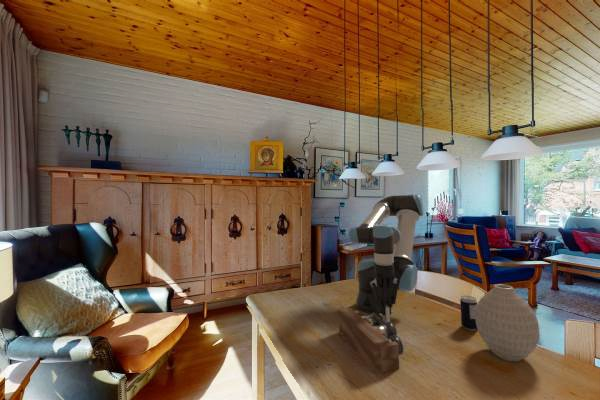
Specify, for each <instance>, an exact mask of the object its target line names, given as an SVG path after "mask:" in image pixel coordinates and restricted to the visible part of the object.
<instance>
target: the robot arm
mask: <svg viewBox="0 0 600 400" xmlns="http://www.w3.org/2000/svg"><path fill="white" fill-rule="evenodd" d="M423 206H424V205H423V201H422V197H421V195H419V194H404V195H403V194H401V195H390V196H386V197H384V198H382V199H380V200H379V201H377V202H376V203H375V204H374V205H373V207H372V211H371V212H370V213H369V214H368V215H367V216H366V218H365V219H364V220H363V221H362V222H361V224H360V225H359V226H353V227H351V228H350V229H349V231H348V239H349V241H350V242H351V243H353V244H361V245H373V258H364V259H362V260H360V261H358V264H357V276H358V278H357V279H358V292H357V295H356V299H355V307H356V309H358V310H359V309H360V311H361V312H365V311H366V312H365V313H371V312H374V313H376V312H378V313H380V315H382V323H383V324H384V323H386V322H391V314H392V308H393V305H396V302H397V301H396V300H397V297H398V296H397V295H398V291H401V292H403V291H404V292H411V291H413V290H414V289H415V288H416V284H417V282H418V281H417V280H418V274H419V273H418V267H417V266H416V265H415V262H414V261H413V260H412V257H413V248H414V242H415V241H414V239H415V231H416V223H417V222H418V221H419V220H420V217H422V216H424V214H425V213H424V207H423ZM389 217H396V218H397V219H398V220H397V224H396V225H397V227H393V226H392V225H391V224H382V223H383V222H384V220H385V219H388V218H389Z"/></svg>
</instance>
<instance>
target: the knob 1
mask: <svg viewBox="0 0 600 400" xmlns="http://www.w3.org/2000/svg"><path fill="white" fill-rule="evenodd" d="M360 316H361V315H360ZM361 317H362V318H367V319H368V320H369V321H370V322H371V326H379V325H383V317H382V316H381V313H380V312H376V313H371V312H370V314H369V315H362V316H361Z"/></svg>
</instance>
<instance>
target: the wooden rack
mask: <svg viewBox="0 0 600 400" xmlns="http://www.w3.org/2000/svg"><path fill="white" fill-rule="evenodd" d="M338 327H339V328H338V329H339V333H340V332H341V333H342V334H341V333H340V334H341V335H342V337H343V336H344V337H345V338H346V339H345V338H344V339H345V340H346V341H347V342H348V343H350V344H351V345H352V346H351V345H350V344H349V345H350V346H351V347H352V348H353V349H354V351H355V352H356V351H357V352H358V353H357V352H356V353H357V354H358V355H359V357H361V358H363V359H364V360H363V361H364V362H365V363H366V364H367V366H368V367H369V366H370V367H369V368H370V369H371V370H372V372H373V373H374V374H375V373H376V374H375V375H377V374H378V373H379V374H383V373H387V372H392V371H397V370H399V369H400V355H399V349H398V344H397V343H396V342H395V341H394V342H389V340H388V339H387V338H386V337H385V333H384V332H383V331H381V330H380V329H375V328H374V327H373V326H371V322H370V321H369V320H368V319H367V318H362V317H361V315H360V312H359V311H358V310H353V309H352V308H351V307H344V308H339V309H338Z"/></svg>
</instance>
